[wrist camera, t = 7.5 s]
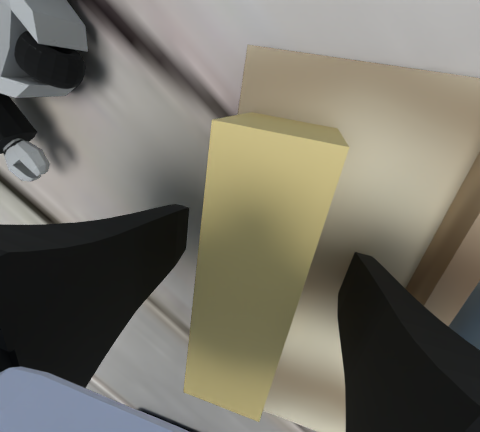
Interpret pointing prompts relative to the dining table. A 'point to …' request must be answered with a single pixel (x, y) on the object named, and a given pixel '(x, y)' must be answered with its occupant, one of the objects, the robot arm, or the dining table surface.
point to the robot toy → (35, 72)
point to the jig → (374, 202)
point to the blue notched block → (469, 319)
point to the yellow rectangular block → (256, 250)
